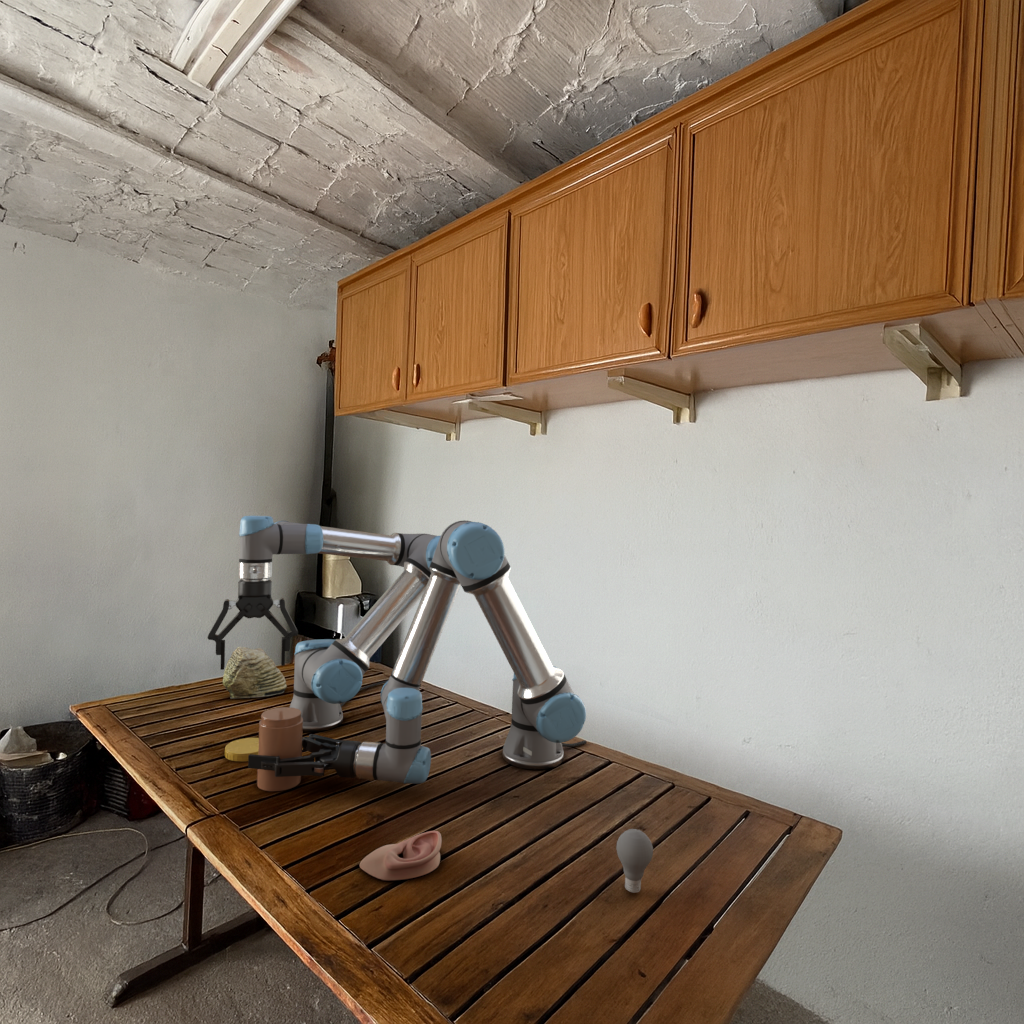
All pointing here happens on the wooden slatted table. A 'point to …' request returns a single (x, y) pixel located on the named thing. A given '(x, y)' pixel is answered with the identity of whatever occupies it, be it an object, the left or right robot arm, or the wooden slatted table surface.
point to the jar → (279, 744)
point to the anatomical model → (405, 858)
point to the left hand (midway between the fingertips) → (253, 666)
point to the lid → (241, 749)
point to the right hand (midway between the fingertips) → (261, 751)
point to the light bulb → (634, 857)
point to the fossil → (252, 674)
